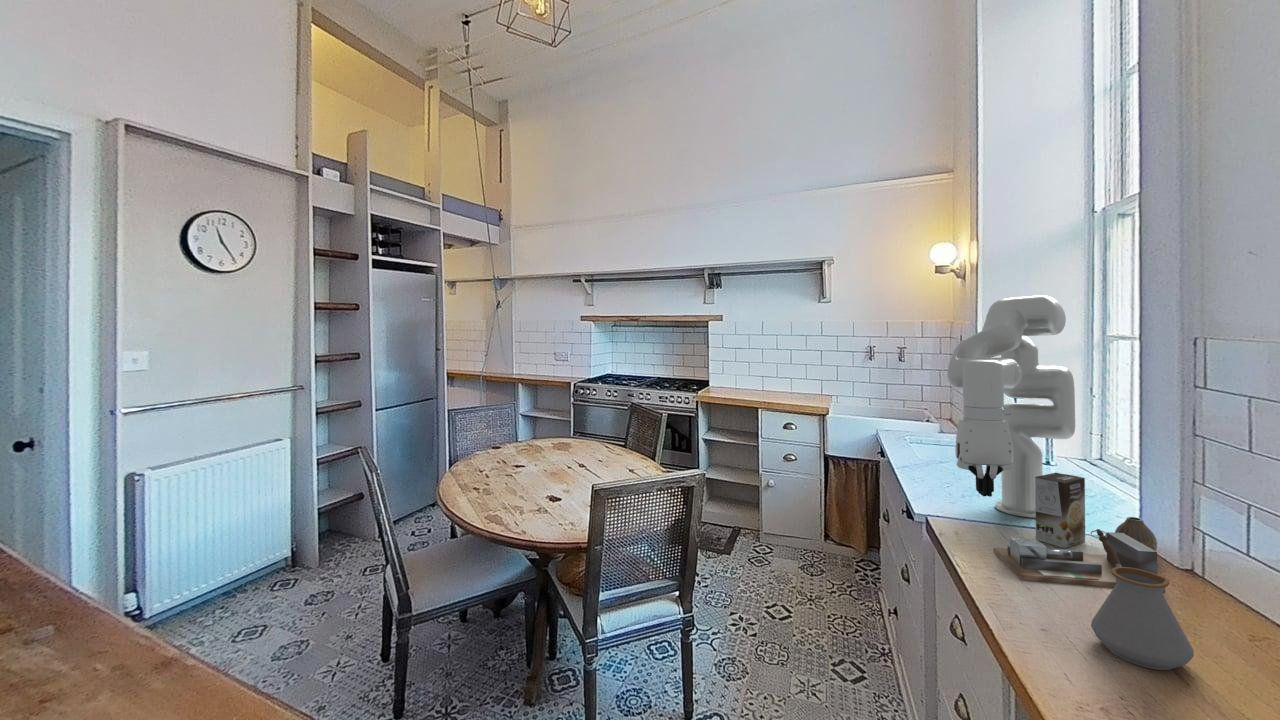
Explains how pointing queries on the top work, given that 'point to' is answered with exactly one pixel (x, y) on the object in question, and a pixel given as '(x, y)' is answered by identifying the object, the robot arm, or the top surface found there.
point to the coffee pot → (1140, 619)
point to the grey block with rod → (1033, 550)
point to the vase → (1138, 532)
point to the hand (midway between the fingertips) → (984, 494)
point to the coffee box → (1060, 509)
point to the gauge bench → (1085, 563)
